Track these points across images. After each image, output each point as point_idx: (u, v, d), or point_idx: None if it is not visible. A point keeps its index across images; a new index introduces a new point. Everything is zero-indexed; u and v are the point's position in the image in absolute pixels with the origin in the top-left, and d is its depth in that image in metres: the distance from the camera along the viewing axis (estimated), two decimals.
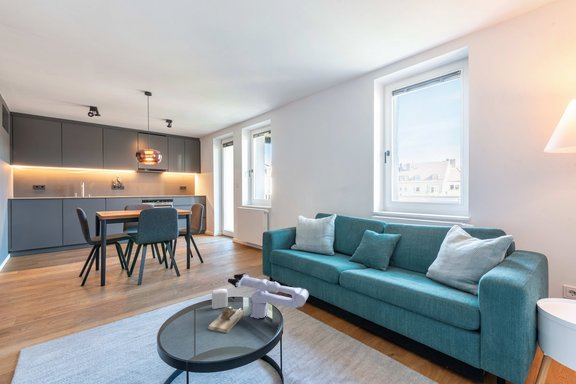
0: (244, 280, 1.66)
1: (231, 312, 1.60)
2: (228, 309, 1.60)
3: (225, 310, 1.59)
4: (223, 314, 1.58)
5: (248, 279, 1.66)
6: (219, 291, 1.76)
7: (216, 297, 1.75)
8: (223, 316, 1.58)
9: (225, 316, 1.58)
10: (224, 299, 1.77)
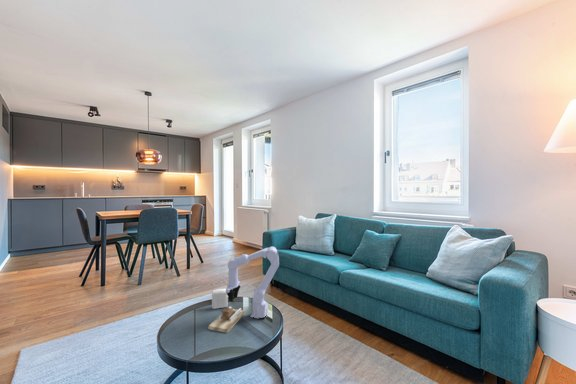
0: (229, 283, 1.64)
1: (231, 312, 1.60)
2: (228, 309, 1.60)
3: (225, 310, 1.59)
4: (223, 314, 1.58)
5: (228, 279, 1.65)
6: (219, 291, 1.76)
7: (216, 297, 1.75)
8: (223, 316, 1.58)
9: (225, 316, 1.58)
10: (224, 299, 1.77)
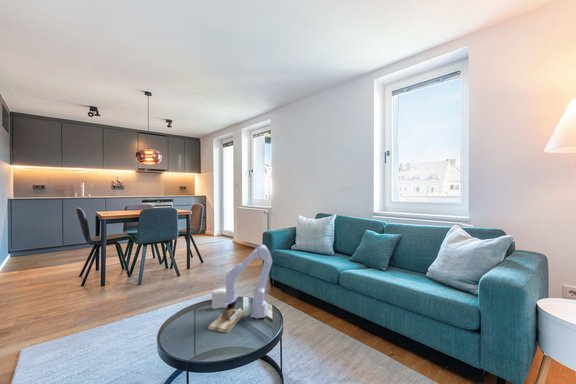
0: (226, 298, 1.61)
1: (231, 312, 1.60)
2: (228, 309, 1.60)
3: (225, 310, 1.59)
4: (223, 314, 1.58)
5: (226, 293, 1.62)
6: (219, 291, 1.76)
7: (216, 297, 1.75)
8: (223, 316, 1.58)
9: (225, 316, 1.58)
10: None
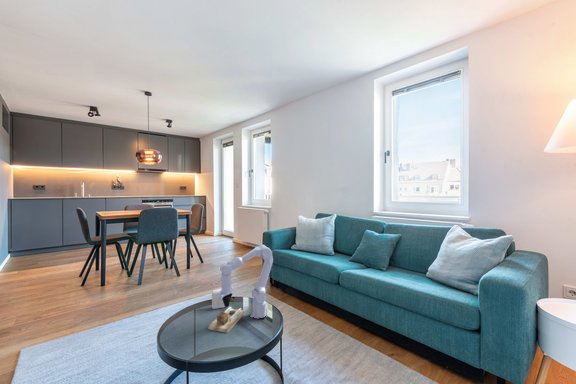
0: (222, 290, 1.56)
1: (226, 317, 1.54)
2: (223, 314, 1.55)
3: (220, 315, 1.54)
4: (218, 319, 1.53)
5: (221, 285, 1.57)
6: (219, 291, 1.76)
7: (216, 297, 1.75)
8: (218, 321, 1.53)
9: (220, 321, 1.52)
10: None
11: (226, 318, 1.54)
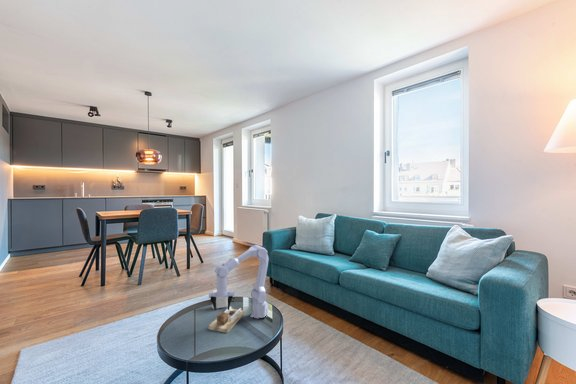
0: None
1: (226, 317, 1.54)
2: (223, 314, 1.55)
3: (220, 315, 1.54)
4: (218, 319, 1.53)
5: None
6: None
7: (216, 297, 1.75)
8: (218, 321, 1.53)
9: (220, 321, 1.52)
10: (224, 299, 1.77)
11: (226, 318, 1.54)
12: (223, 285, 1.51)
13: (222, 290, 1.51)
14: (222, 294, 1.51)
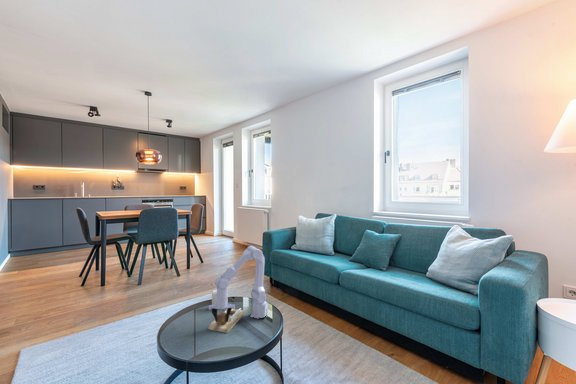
0: None
1: (226, 317, 1.54)
2: (223, 314, 1.55)
3: (220, 315, 1.54)
4: (218, 319, 1.53)
5: None
6: None
7: (216, 297, 1.75)
8: (218, 321, 1.53)
9: (220, 321, 1.52)
10: None
11: (226, 318, 1.54)
12: (223, 297, 1.51)
13: (222, 302, 1.51)
14: (222, 306, 1.51)
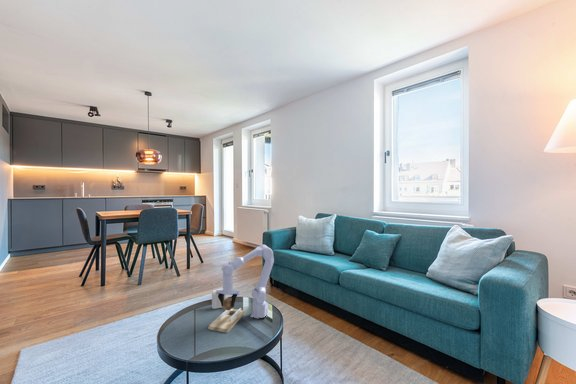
0: None
1: (231, 302, 1.59)
2: (229, 299, 1.60)
3: (225, 300, 1.59)
4: (223, 304, 1.58)
5: None
6: None
7: (216, 297, 1.75)
8: (223, 306, 1.58)
9: (225, 306, 1.57)
10: (224, 299, 1.77)
11: (231, 304, 1.59)
12: (228, 283, 1.56)
13: (227, 288, 1.56)
14: (227, 291, 1.56)
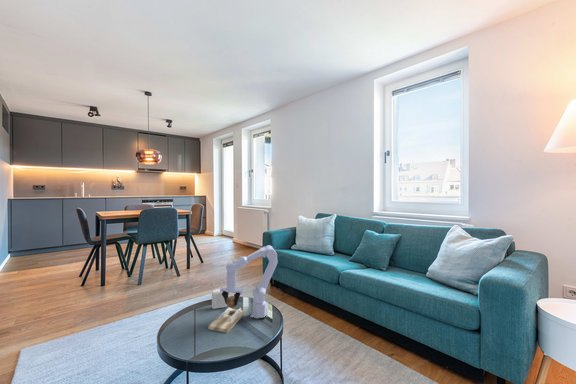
0: None
1: None
2: (232, 297, 1.63)
3: (229, 298, 1.62)
4: (227, 301, 1.62)
5: None
6: (219, 291, 1.76)
7: (216, 297, 1.75)
8: (227, 303, 1.62)
9: (229, 304, 1.61)
10: None
11: None
12: (231, 281, 1.59)
13: (230, 286, 1.59)
14: (230, 290, 1.59)
